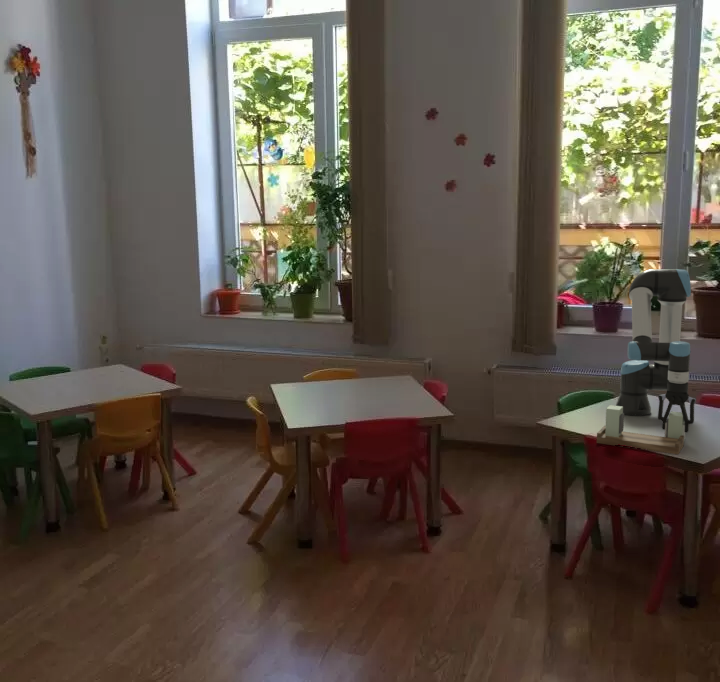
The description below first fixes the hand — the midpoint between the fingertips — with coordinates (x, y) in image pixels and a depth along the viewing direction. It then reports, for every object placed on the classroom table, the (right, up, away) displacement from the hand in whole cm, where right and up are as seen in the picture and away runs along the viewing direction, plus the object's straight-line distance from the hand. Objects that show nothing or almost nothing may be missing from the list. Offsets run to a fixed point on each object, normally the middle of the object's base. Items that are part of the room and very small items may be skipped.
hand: (674, 438), depth 297 cm
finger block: (0, -1, 0) cm, 1 cm away
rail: (-15, -2, -3) cm, 16 cm away
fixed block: (-24, +1, +1) cm, 24 cm away
